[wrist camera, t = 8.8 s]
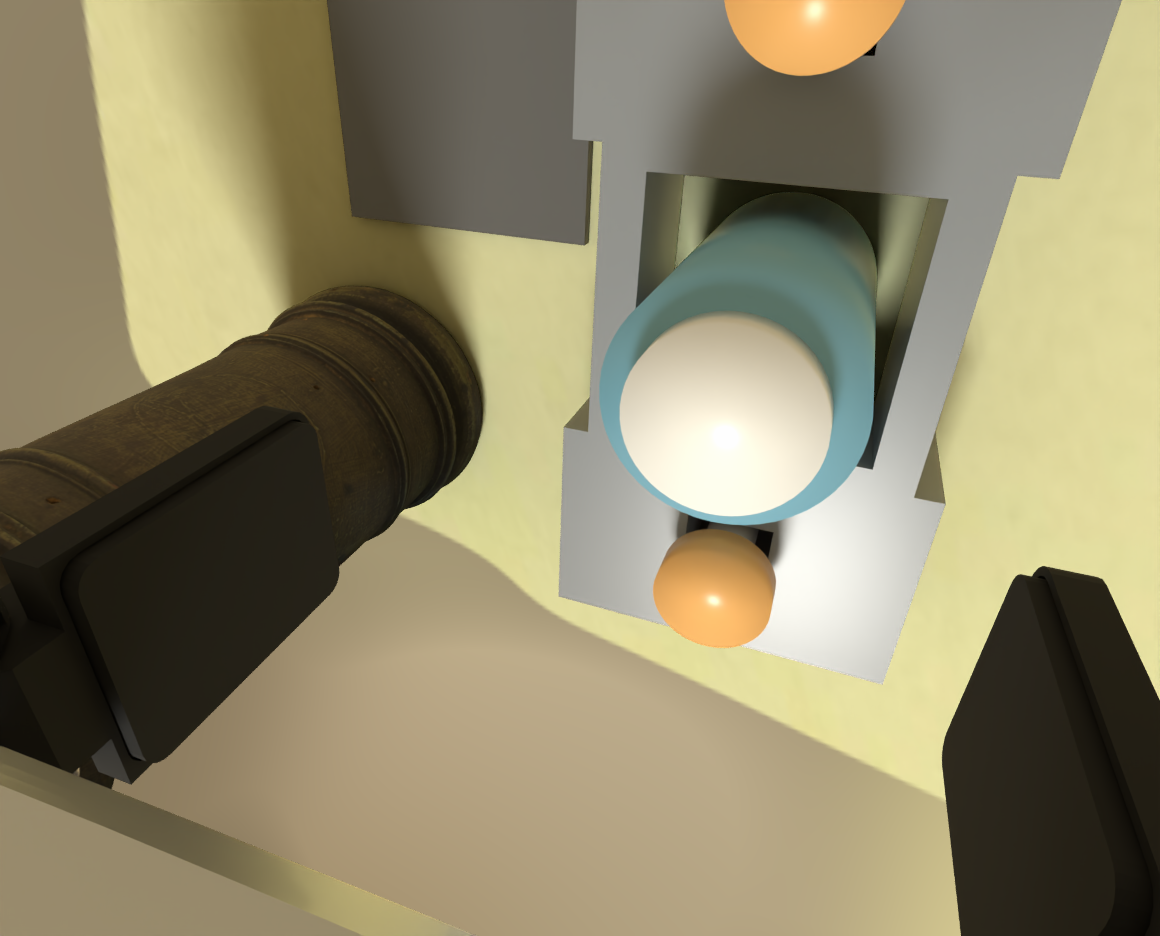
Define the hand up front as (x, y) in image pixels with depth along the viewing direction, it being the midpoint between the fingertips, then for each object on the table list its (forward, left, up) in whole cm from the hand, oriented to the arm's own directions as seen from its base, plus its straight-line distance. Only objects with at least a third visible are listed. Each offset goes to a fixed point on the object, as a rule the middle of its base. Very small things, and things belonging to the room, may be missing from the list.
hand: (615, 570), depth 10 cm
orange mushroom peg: (-1, +7, -15) cm, 17 cm away
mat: (+10, -5, -16) cm, 20 cm away
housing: (-1, 0, -16) cm, 16 cm away
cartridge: (-1, 0, -16) cm, 16 cm away
